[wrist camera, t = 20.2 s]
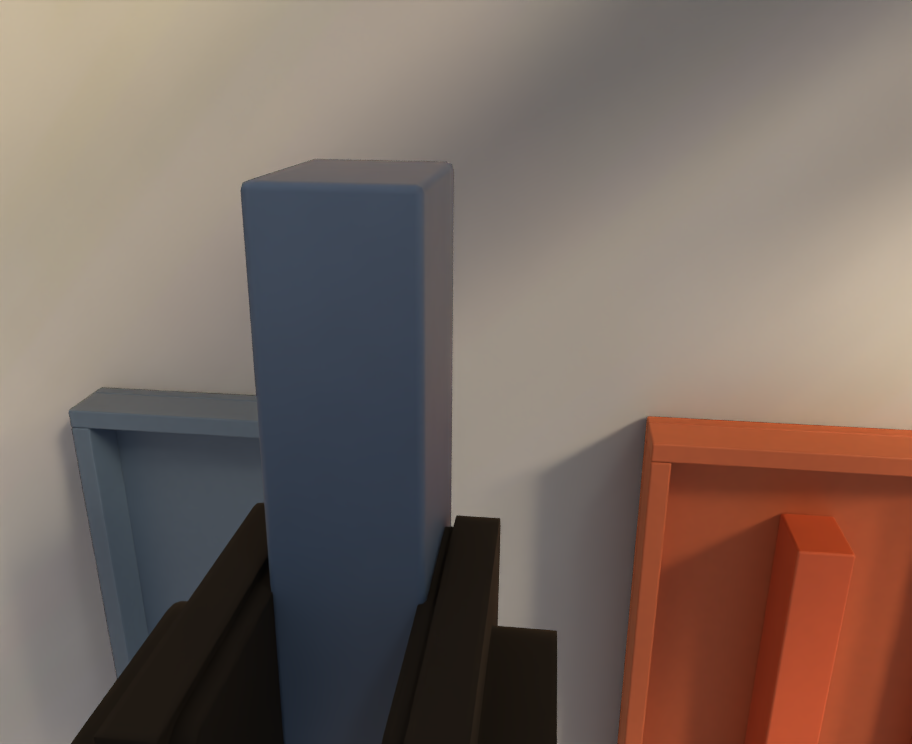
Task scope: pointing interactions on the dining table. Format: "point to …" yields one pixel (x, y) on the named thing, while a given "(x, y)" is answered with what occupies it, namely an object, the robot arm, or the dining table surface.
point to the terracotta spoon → (800, 630)
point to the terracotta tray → (763, 575)
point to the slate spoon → (350, 423)
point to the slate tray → (162, 496)
